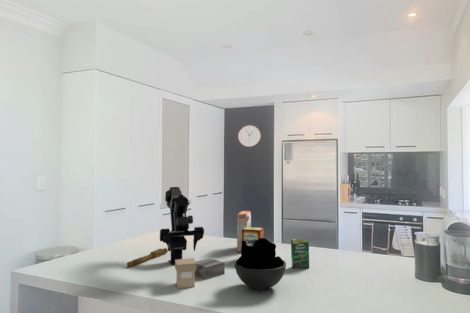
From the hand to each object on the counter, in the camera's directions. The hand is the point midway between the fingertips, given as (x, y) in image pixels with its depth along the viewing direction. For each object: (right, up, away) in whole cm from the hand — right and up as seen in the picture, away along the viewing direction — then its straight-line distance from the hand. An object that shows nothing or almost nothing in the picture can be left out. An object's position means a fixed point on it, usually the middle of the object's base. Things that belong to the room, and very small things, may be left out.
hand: (183, 251), depth 147 cm
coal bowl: (+31, -12, -9) cm, 35 cm away
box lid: (+2, -6, -6) cm, 8 cm away
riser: (+10, -12, +8) cm, 18 cm away
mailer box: (+2, -12, -6) cm, 13 cm away
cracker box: (+27, -13, +51) cm, 59 cm away
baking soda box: (+31, -13, +30) cm, 45 cm away
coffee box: (+52, -13, +17) cm, 56 cm away
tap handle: (-22, -13, +32) cm, 41 cm away
